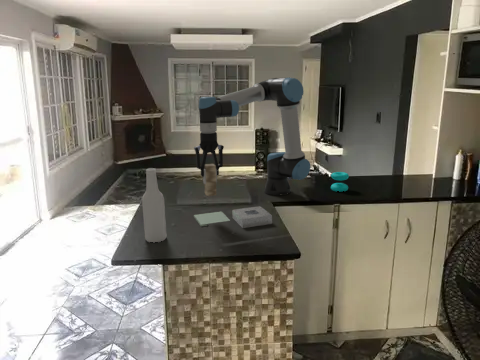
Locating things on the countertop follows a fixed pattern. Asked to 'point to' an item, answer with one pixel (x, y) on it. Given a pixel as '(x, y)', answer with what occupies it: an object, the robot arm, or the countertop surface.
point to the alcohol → (153, 209)
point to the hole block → (252, 217)
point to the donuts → (340, 176)
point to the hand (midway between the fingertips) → (210, 182)
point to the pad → (210, 218)
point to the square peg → (210, 180)
